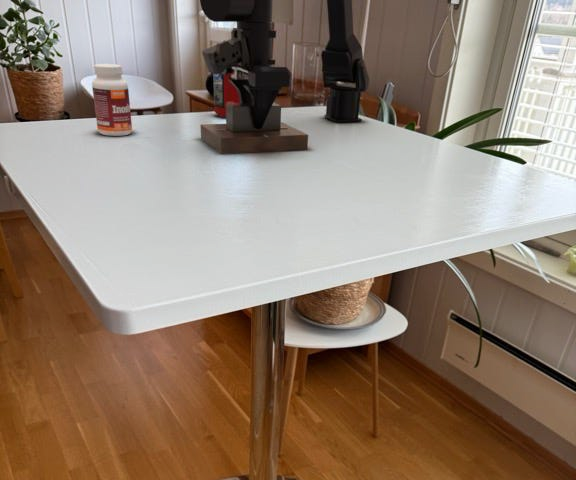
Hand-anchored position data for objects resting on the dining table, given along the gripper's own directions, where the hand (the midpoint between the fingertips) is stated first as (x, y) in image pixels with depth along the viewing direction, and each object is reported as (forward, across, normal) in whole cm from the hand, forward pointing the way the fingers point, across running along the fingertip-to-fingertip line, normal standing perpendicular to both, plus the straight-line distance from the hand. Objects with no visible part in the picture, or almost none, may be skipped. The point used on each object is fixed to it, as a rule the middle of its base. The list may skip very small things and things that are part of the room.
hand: (253, 126), depth 100 cm
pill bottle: (+3, -14, -22) cm, 26 cm away
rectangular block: (0, 0, 0) cm, 0 cm away
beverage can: (+3, -28, +5) cm, 29 cm away
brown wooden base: (+3, 0, 0) cm, 3 cm away
